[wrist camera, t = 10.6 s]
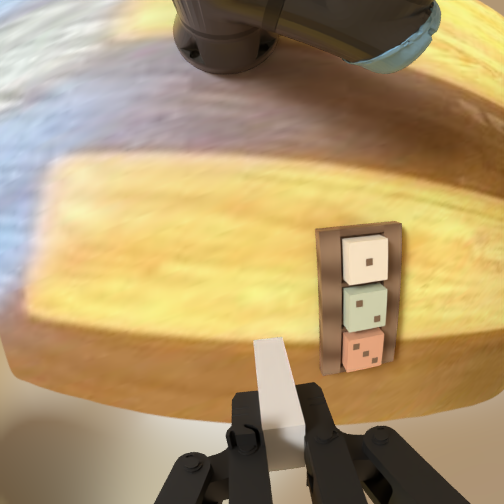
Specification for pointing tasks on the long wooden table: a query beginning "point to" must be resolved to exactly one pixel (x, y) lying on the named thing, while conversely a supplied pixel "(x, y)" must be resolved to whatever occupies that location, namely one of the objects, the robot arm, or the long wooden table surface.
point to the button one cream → (365, 259)
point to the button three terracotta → (362, 349)
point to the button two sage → (364, 307)
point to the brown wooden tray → (334, 284)
